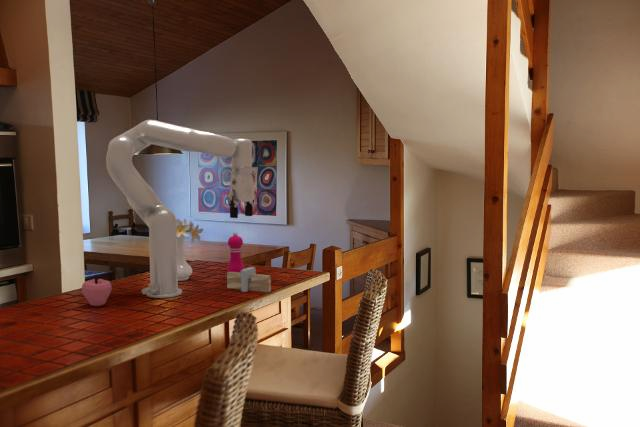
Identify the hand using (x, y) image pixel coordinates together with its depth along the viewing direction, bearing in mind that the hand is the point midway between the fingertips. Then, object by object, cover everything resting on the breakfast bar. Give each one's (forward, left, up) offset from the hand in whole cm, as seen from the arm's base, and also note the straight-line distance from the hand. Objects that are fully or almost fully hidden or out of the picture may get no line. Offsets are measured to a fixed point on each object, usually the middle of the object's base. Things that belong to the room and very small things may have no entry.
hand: (241, 216), depth 222 cm
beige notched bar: (-3, -5, -27) cm, 28 cm away
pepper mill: (+8, +8, -27) cm, 30 cm away
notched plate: (-3, -5, -27) cm, 28 cm away
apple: (-44, +29, -27) cm, 60 cm away
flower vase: (+2, +30, -27) cm, 41 cm away
